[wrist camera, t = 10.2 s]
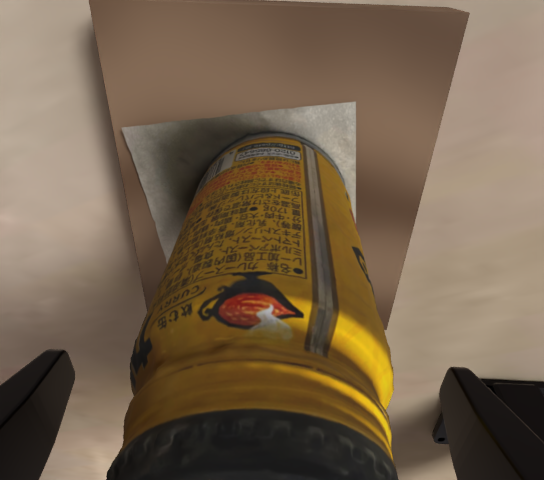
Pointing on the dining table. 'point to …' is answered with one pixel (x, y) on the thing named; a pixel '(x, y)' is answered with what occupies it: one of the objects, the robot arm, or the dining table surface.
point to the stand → (288, 95)
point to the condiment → (257, 306)
